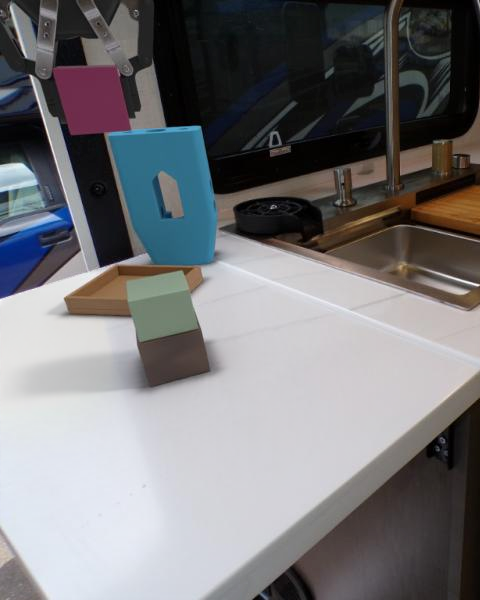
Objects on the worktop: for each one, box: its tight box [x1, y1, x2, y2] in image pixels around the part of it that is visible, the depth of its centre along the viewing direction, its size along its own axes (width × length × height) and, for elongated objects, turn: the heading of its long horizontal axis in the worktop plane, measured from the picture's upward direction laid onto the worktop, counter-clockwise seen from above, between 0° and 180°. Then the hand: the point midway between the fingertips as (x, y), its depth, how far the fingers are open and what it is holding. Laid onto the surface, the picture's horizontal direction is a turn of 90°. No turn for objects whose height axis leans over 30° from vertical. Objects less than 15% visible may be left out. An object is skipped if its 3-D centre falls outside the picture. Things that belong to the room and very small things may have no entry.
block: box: [107, 125, 219, 266], centre depth 79 cm, size 12×5×20 cm, turn 102°
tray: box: [63, 263, 204, 317], centre depth 72 cm, size 13×11×2 cm
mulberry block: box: [52, 64, 132, 136], centre depth 49 cm, size 5×5×6 cm
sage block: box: [126, 270, 198, 343], centre depth 53 cm, size 6×6×4 cm
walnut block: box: [134, 308, 211, 388], centre depth 55 cm, size 6×6×5 cm
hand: (99, 119), depth 50 cm, fingers closed on mulberry block, 5 cm apart
